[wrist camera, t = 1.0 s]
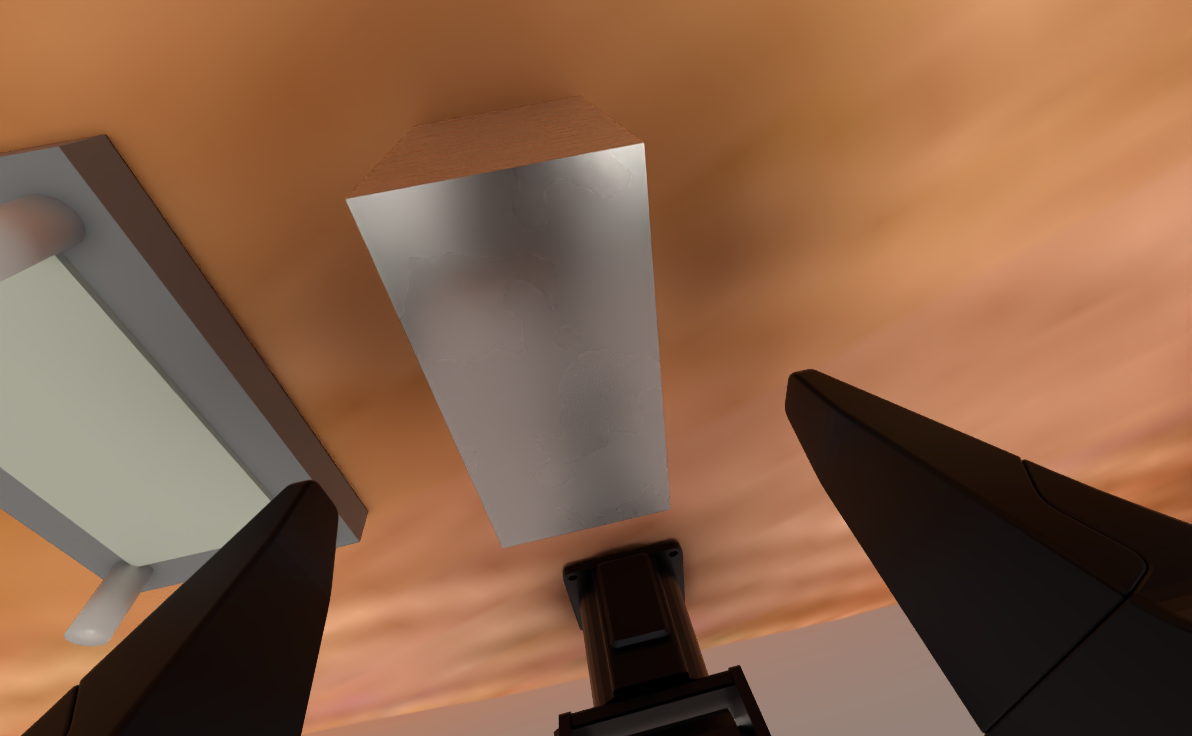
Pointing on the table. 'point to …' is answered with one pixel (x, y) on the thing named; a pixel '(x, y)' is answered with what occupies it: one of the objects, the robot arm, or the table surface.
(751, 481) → the table surface
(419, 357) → the block
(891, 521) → the robot arm
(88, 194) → the pin tray
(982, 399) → the table surface
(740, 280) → the table surface
